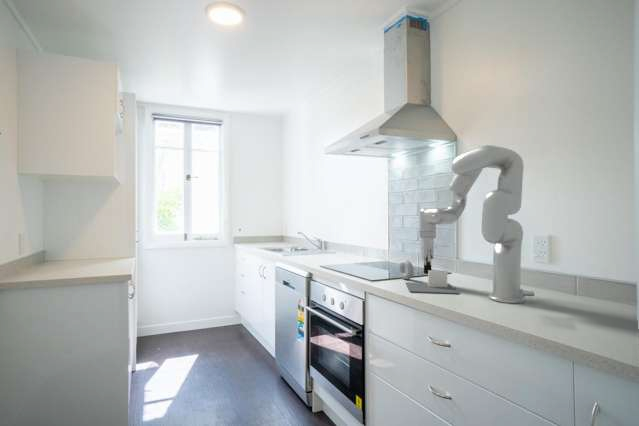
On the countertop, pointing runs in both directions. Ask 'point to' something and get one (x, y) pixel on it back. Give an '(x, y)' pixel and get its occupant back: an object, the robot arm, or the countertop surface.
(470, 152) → the robot arm
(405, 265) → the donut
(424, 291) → the mat
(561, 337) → the countertop surface
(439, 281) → the tile
